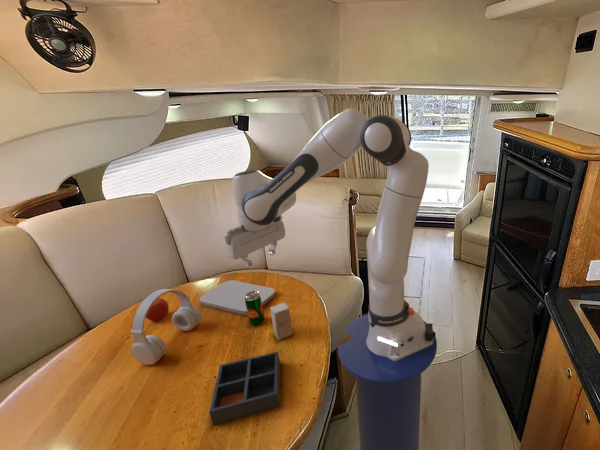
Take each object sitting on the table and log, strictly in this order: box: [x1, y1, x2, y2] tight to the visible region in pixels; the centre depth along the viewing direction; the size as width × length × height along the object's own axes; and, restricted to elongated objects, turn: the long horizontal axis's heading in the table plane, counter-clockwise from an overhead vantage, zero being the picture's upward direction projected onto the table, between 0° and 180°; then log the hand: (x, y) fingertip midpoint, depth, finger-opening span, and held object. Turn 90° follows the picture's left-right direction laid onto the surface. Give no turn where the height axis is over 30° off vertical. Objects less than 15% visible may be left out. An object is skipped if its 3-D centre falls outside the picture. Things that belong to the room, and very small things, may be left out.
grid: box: [208, 351, 281, 426], centre depth 86 cm, size 16×16×5 cm
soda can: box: [245, 291, 266, 327], centre depth 112 cm, size 5×5×12 cm
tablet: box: [199, 279, 276, 316], centre depth 127 cm, size 16×26×2 cm, turn 72°
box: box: [269, 302, 293, 341], centre depth 106 cm, size 5×4×11 cm
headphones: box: [130, 288, 203, 366], centre depth 100 cm, size 20×8×19 cm, turn 173°
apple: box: [145, 297, 170, 322], centre depth 115 cm, size 8×8×8 cm
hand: (261, 259), depth 104 cm, fingers open, 8 cm apart
